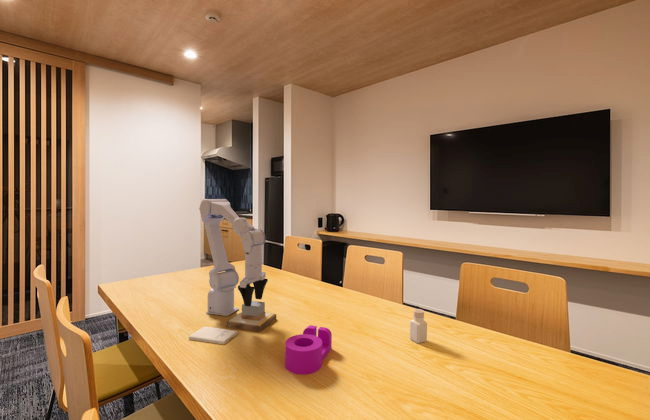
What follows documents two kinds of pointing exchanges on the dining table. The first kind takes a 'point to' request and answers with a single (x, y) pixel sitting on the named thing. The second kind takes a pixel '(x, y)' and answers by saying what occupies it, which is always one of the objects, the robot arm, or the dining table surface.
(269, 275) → the dining table surface
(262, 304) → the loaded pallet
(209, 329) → the external hard drive
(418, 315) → the salt shaker
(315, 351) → the magenta clevis bracket
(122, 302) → the dining table surface
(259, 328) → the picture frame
